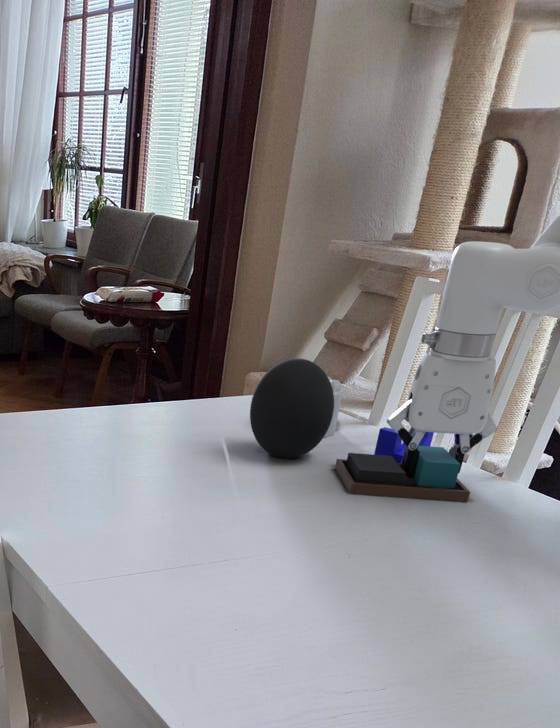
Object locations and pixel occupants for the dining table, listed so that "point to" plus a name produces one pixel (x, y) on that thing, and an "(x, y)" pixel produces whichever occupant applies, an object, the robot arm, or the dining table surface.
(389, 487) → the frame
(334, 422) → the lumpy-topped squat cylinder
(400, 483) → the back pad
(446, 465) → the teal rectangular block
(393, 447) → the blue curved cradle
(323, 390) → the decorative egg
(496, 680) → the dining table surface
